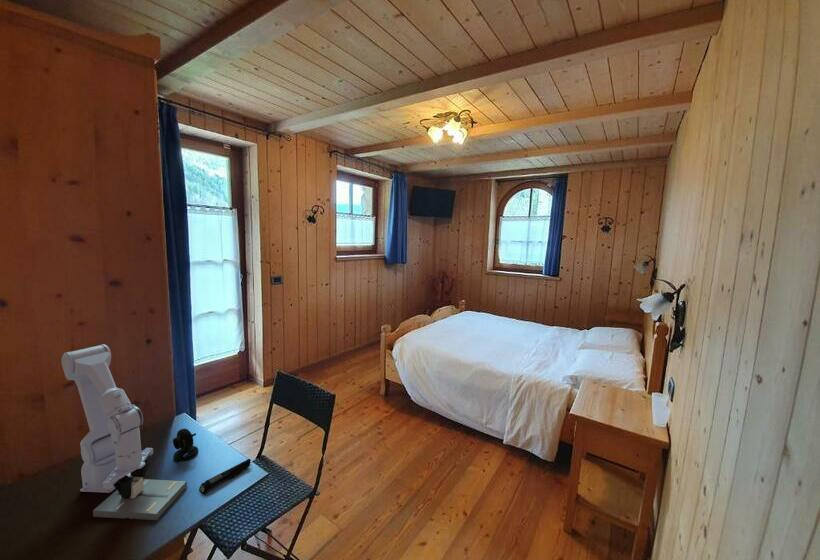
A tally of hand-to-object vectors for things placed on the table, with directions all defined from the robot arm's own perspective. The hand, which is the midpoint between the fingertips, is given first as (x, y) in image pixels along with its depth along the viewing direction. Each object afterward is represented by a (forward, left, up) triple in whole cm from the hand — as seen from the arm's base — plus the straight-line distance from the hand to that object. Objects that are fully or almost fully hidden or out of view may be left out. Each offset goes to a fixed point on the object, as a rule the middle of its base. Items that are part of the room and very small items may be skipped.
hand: (132, 492), depth 96 cm
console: (+3, 0, -3) cm, 4 cm away
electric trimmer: (+22, +10, -3) cm, 24 cm away
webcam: (+2, +20, -3) cm, 20 cm away
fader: (0, 0, 0) cm, 0 cm away
